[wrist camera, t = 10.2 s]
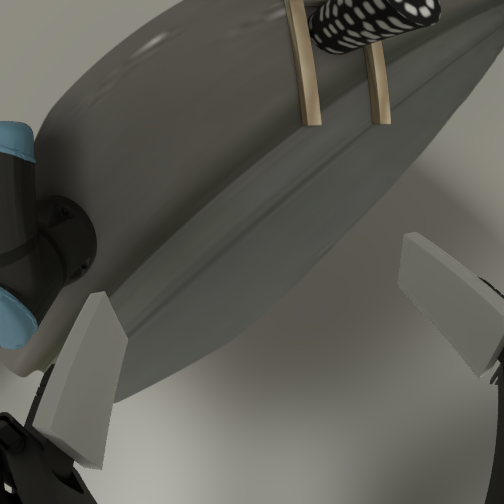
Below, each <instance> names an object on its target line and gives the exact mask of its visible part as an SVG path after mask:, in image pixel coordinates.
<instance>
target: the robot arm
mask: <svg viewBox="0 0 504 504" xmlns="http://www.w3.org/2000/svg"><path fill="white" fill-rule="evenodd" d="M34 164H36V160H35V158H34V137H33V131H32V129H31V128H30V127H29V126H28V125H27V124H25V123H22V122H13V121H0V347H3V348H6V349H19V348H21V347H23V346H24V345H25V344H26V343H27V342H28V340H29V339H30V337H31V336H32V334H34V333H35V332H36V331H37V329H38V326H39V325H40V323H41V321H42V320H43V318H44V316H45V315H46V313H47V311H48V310H49V308H50V306H51V305H52V303H53V302H54V300H55V299H56V297H57V295H58V294H59V292H60V291H61V289H62V288H63V287H65V286H67V285H69V284H71V283H73V282H75V281H77V280H78V279H80V278H81V277H82V276H83V275H84V274H85V273H86V272H87V271H88V269H89V268H90V266H91V265H92V263H93V261H94V258H95V255H96V247H97V243H96V235H95V231H94V228H93V226H92V223H91V221H90V219H89V218H88V216H87V215H86V213H85V212H84V211H83V210H82V209H81V208H80V207H79V206H78V205H77V204H76V203H75V202H73V201H71V200H70V199H67V198H65V197H62V196H48V197H45V198H43V199H41V200H39V201H38V202H36V196H35V168H34ZM397 285H398V287H399V288H400V289H401V290H402V291H403V292H404V293H405V294H406V295H407V296H408V297H409V298H410V299H411V300H412V301H413V302H414V303H415V304H416V306H417V307H418V308H419V309H420V310H421V311H422V312H423V313H424V314H425V315H426V317H427V318H428V319H429V320H430V321H431V322H432V323H433V324H434V325H435V327H436V328H437V329H438V330H439V331H440V332H441V333H442V335H443V336H444V337H445V338H446V339H447V340H448V341H449V343H450V344H451V345H452V346H453V348H454V349H455V350H456V351H457V352H458V354H459V355H460V356H461V357H462V358H463V360H464V361H465V362H466V363H467V365H468V366H469V367H470V368H471V370H472V371H473V372H474V373H475V375H476V376H477V377H478V378H481V377H482V376H484V375H485V374H487V373H488V372H489V371H491V369H492V368H493V366H494V364H495V362H496V361H497V359H498V360H499V361H500V363H501V364H500V366H499V367H498V369H497V370H496V372H495V373H494V375H493V377H492V378H491V380H490V384H492V383H493V382H494V380H495V379H496V377H497V376H498V379H497V381H496V383H495V385H498V425H497V437H496V446H495V454H494V461H493V467H492V473H491V478H490V484H489V488H488V492H487V497H486V500H485V504H504V296H503V295H501V293H500V292H499V291H498V290H497V289H494V287H493V286H492V285H491V284H489V283H488V282H487V281H486V280H483V279H482V278H480V277H477V276H476V275H474V274H473V273H472V272H471V271H469V270H468V269H467V268H466V267H464V266H463V265H462V264H460V263H459V262H458V261H456V260H455V259H454V258H452V257H451V256H450V255H448V254H447V253H446V252H444V251H443V250H441V249H440V248H439V247H437V246H436V245H435V244H433V243H432V242H430V241H429V240H428V239H426V238H425V237H423V236H422V235H420V234H419V233H417V232H412V233H407V234H404V238H403V247H402V255H401V263H400V270H399V277H398V283H397ZM127 343H128V338H127V336H126V334H125V332H124V330H123V329H122V327H121V325H120V323H119V321H118V318H117V316H116V314H115V312H114V310H113V308H112V306H111V304H110V302H109V299H108V297H107V295H106V293H105V291H103V292H98V293H92V294H90V295H89V297H88V299H87V300H86V302H85V304H84V306H83V308H82V310H81V312H80V314H79V316H78V318H77V319H76V321H75V323H74V325H73V327H72V329H71V331H70V334H69V336H68V338H67V340H66V342H65V344H64V346H63V348H62V350H61V353H60V355H59V357H58V359H57V362H56V364H52V365H51V366H50V367H49V369H48V370H47V371H46V372H45V374H44V376H43V378H42V380H41V383H40V387H39V388H38V390H37V392H36V394H37V396H35V398H34V400H33V403H32V406H31V409H30V411H29V414H28V417H27V419H26V422H25V425H24V427H23V426H22V425H21V424H20V423H19V422H18V421H17V420H16V419H15V418H14V417H12V415H10V414H9V413H7V412H2V413H0V504H97V502H96V501H95V499H94V498H93V496H92V495H91V493H90V491H89V490H88V489H87V487H86V485H85V483H84V481H83V480H82V478H81V476H80V475H79V473H78V471H77V470H76V469H75V468H74V467H73V463H74V461H76V462H77V463H79V464H80V465H81V466H83V467H85V468H92V469H99V470H102V466H103V458H104V452H105V445H106V439H107V433H108V427H109V421H110V416H111V411H112V406H113V401H114V397H115V392H116V387H117V383H118V379H119V374H120V370H121V366H122V362H123V358H124V354H125V350H126V346H127ZM4 483H5V484H7V485H8V486H10V487H12V493H9V492H8V491H6V490H5V488H4Z"/></svg>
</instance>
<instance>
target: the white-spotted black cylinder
mask: <svg viewBox="0 0 504 504" xmlns="http://www.w3.org/2000/svg"><path fill="white" fill-rule="evenodd" d="M440 15H441V7H440V2H439V0H328V1H327V2H326V3H324V4H323V5H322V6H321V7H320V8H319V9H318V10H316V11H315V12H314V13H313V14H312V15H311V16H310V18H309V20H308V23H307V24H308V29H309V35H310V38H311V40H312V41H313V42H314V43H315V45H316V46H318V47H319V48H320V49H322V50H323V51H325V52H328V53H330V54H335V55H341V54H345V53H348V52H350V51H353V50H356V49H358V48H361V47H363V46H366V45H369V44H372V43H374V42H377V41H380V40H383V39H386V38H389V37H392V36H395V35H399V34H402V33H405V32H409V31H412V30H416V29H420V28H423V27H427V26H431V25H434V24H436V23H437V22H438V20H439V19H440Z"/></svg>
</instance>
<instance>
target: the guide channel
mask: <svg viewBox="0 0 504 504" xmlns="http://www.w3.org/2000/svg"><path fill="white" fill-rule="evenodd" d="M327 1H328V0H284V3H285V8H286V13H287V18H288V24H289V30H290V36H291V42H292V48H293V54H294V61H295V68H296V75H297V82H298V90H299V98H300V106H301V115H302V124H303V125H306V126H310V125H321V115H320V106H319V97H318V89H317V81H316V73H315V66H314V59H313V53H312V47H311V41H310V35H309V29H308V24H307V18H306V13H305V8H304V6H311V7H321V6H322V5H323V4H324V3H326V2H327ZM363 47H364V53H365V59H366V66H367V74H368V82H369V90H370V100H371V111H372V123H378V124H391V120H390V106H389V95H388V85H387V77H386V69H385V62H384V55H383V49H382V43H381V40H380V41H377V42H374V43H372V44H369V45H366V46H363Z"/></svg>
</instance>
